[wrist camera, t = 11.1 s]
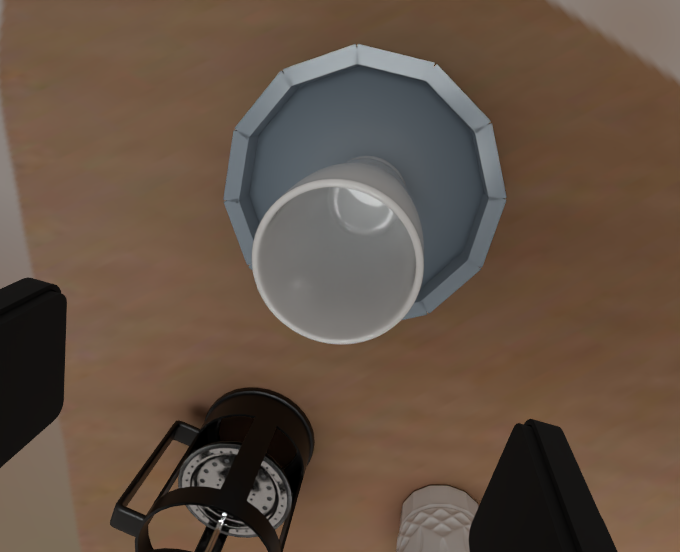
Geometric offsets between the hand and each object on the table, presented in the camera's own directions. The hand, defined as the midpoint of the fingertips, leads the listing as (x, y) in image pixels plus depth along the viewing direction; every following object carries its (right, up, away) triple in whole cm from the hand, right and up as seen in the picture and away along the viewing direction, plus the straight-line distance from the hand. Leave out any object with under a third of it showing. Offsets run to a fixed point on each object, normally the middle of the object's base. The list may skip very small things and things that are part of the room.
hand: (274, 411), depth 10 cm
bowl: (+3, +8, +23) cm, 25 cm away
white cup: (+3, +8, +23) cm, 24 cm away
